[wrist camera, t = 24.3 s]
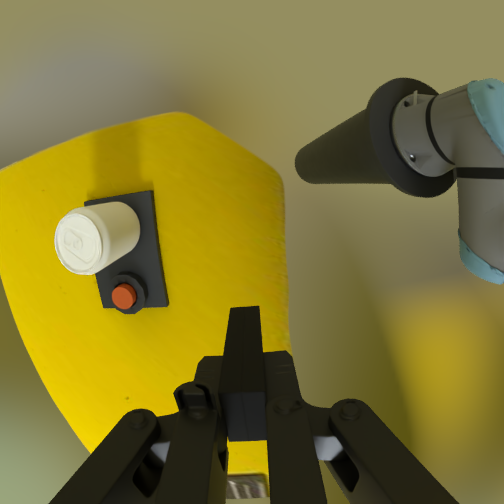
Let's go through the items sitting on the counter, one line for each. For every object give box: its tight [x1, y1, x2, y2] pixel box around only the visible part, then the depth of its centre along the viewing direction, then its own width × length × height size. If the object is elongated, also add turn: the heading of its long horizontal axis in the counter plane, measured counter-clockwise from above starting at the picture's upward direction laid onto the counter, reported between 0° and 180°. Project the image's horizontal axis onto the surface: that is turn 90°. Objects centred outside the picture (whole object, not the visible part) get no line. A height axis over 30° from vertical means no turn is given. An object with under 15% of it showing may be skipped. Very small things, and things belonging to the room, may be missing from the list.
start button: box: [112, 283, 137, 309], centre depth 38 cm, size 4×4×2 cm
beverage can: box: [55, 202, 140, 275], centre depth 32 cm, size 8×8×12 cm
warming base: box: [84, 190, 169, 314], centre depth 39 cm, size 18×12×3 cm, turn 4°
